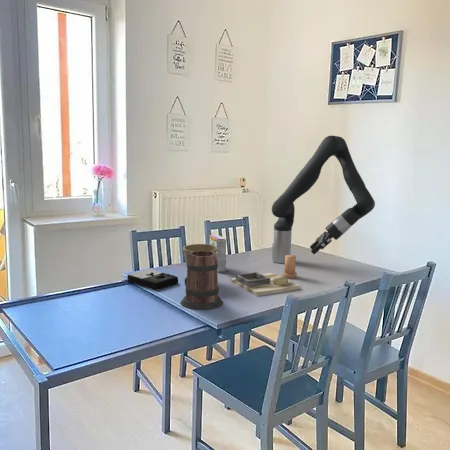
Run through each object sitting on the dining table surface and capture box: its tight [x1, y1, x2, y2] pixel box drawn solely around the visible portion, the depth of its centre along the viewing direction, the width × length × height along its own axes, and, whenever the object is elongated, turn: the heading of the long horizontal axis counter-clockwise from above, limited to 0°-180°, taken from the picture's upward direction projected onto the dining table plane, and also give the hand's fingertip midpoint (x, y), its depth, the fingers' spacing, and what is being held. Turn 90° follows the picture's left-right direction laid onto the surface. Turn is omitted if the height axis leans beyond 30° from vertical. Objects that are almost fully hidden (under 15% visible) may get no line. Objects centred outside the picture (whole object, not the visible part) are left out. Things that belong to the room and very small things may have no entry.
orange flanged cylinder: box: [282, 254, 298, 280], centre depth 219 cm, size 6×6×10 cm
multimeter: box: [126, 268, 179, 291], centre depth 207 cm, size 13×19×5 cm
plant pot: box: [182, 243, 217, 267], centre depth 207 cm, size 15×15×16 cm
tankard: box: [180, 251, 224, 311], centre depth 184 cm, size 24×17×20 cm
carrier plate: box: [230, 271, 301, 297], centre depth 206 cm, size 22×22×4 cm
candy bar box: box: [208, 234, 227, 273], centre depth 229 cm, size 11×5×16 cm, turn 22°
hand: (311, 250), depth 217 cm, fingers open, 8 cm apart
